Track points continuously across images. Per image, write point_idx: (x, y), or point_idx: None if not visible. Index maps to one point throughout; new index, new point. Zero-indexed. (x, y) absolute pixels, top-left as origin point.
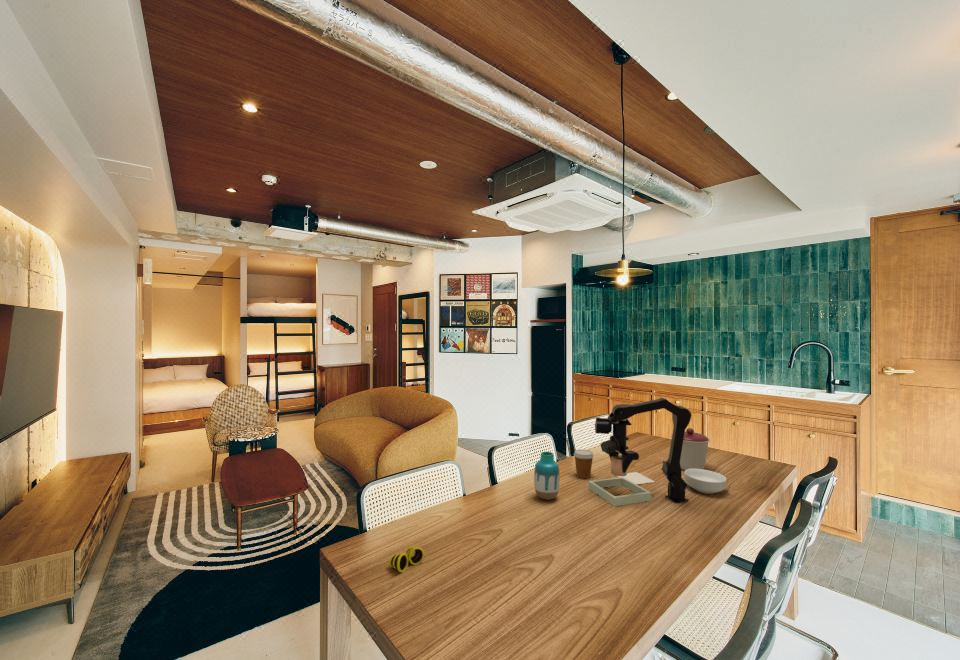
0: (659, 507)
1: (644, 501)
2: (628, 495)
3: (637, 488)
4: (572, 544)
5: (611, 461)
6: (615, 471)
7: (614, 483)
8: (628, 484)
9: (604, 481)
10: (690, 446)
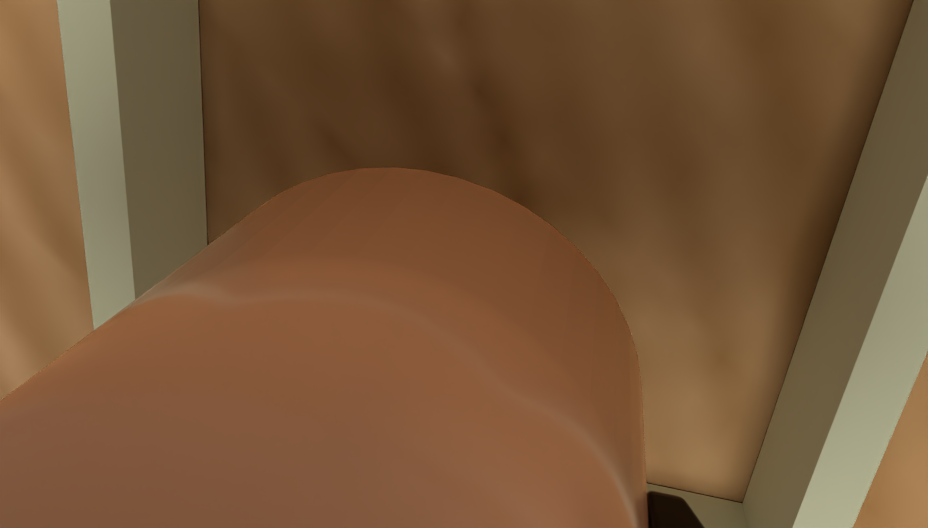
0: (5, 351)
1: None
2: (79, 83)
3: None
4: None
5: (449, 496)
6: (260, 227)
7: (798, 411)
8: None
9: (897, 226)
10: None
